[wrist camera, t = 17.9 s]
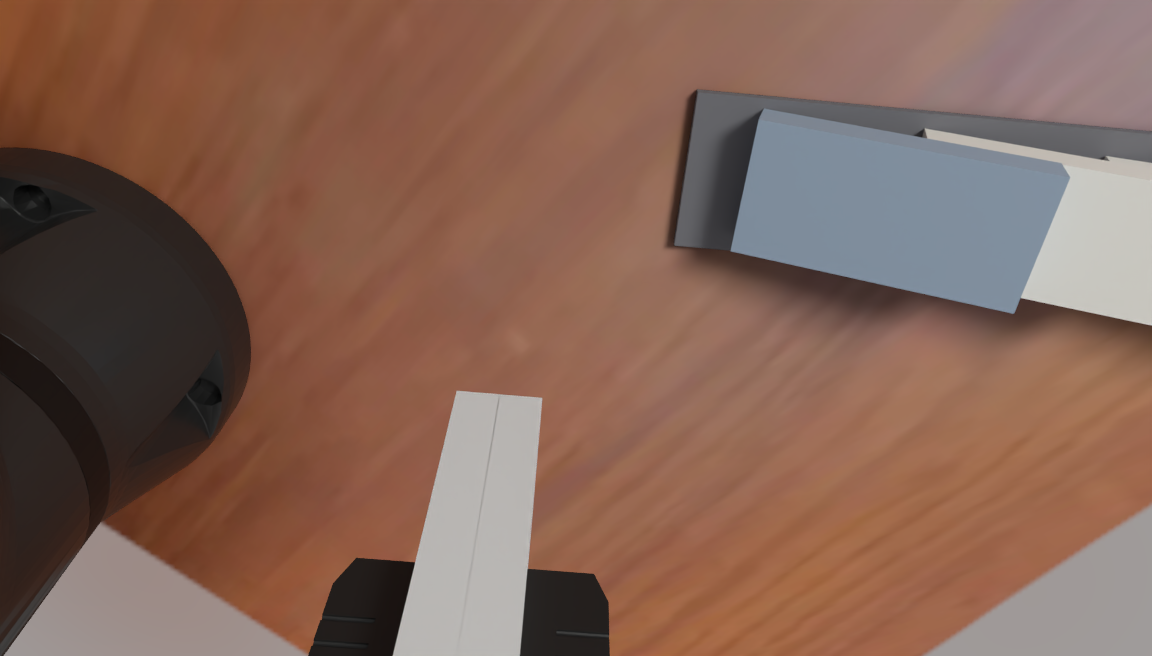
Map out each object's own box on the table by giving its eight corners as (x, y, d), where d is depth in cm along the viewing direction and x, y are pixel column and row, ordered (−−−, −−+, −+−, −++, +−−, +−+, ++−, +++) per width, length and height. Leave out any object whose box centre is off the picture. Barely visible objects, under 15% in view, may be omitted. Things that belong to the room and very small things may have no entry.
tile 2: (886, 269, 32) (1176, 330, 30) (927, 140, 30) (1247, 197, 28) (885, 253, 33) (1162, 310, 32) (924, 128, 31) (1228, 182, 29)
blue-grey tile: (730, 251, 32) (1014, 313, 30) (758, 119, 29) (1070, 177, 27) (736, 235, 33) (1008, 294, 31) (763, 108, 31) (1061, 163, 29)
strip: (673, 241, 34) (674, 245, 34) (697, 89, 31) (697, 92, 31) (1319, 299, 34) (1326, 304, 34) (1404, 154, 31) (1413, 158, 31)
